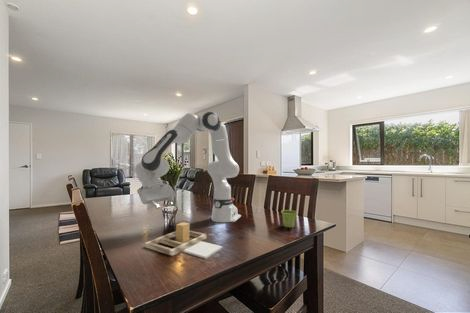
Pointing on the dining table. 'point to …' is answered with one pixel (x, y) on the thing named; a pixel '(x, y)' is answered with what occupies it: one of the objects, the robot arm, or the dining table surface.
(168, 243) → the puzzle board
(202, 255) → the white square plate
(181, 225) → the ochre block
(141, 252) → the dining table surface
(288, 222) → the plant pot
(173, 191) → the robot arm
